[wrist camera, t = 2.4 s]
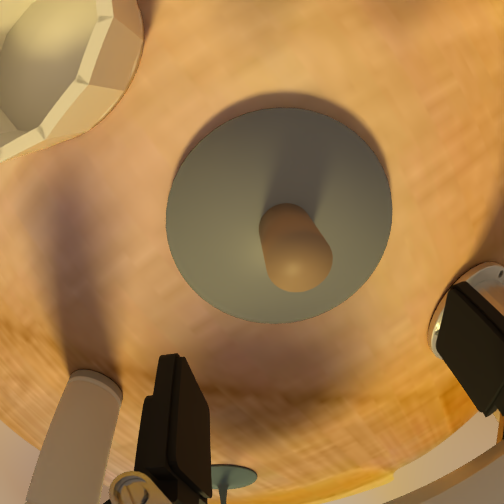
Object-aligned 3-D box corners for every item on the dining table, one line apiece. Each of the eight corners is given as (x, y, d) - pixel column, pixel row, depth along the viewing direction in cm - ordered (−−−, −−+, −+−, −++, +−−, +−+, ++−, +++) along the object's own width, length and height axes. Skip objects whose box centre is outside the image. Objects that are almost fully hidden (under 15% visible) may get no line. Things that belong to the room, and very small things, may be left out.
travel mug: (58, 374, 27) (2, 529, 9) (98, 363, 26) (43, 548, 8) (93, 408, 29) (58, 555, 11) (134, 400, 29) (106, 570, 11)
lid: (372, 95, 18) (421, 93, 12) (386, 289, 25) (418, 334, 19) (141, 140, 19) (106, 153, 13) (205, 330, 26) (200, 385, 20)
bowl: (134, -45, 12) (106, -87, 6) (159, 108, 18) (129, 106, 12) (-7, 28, 12) (-56, 20, 6) (11, 166, 18) (-42, 189, 12)
